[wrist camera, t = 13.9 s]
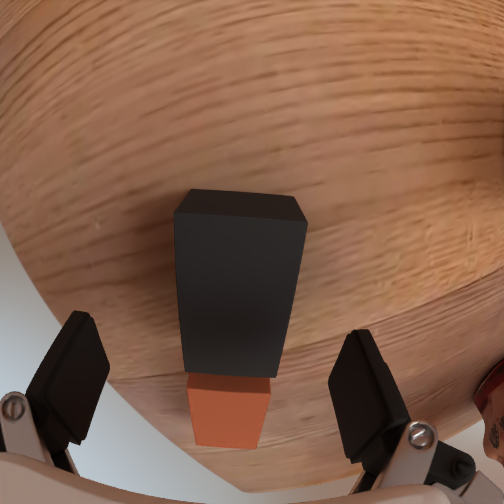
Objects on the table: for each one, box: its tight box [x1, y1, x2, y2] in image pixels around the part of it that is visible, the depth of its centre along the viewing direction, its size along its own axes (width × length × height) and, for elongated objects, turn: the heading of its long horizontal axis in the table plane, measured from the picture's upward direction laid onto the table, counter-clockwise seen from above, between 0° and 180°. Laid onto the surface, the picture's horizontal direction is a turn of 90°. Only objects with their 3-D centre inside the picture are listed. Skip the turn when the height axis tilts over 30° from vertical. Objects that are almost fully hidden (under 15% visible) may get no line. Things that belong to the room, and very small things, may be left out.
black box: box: [174, 189, 308, 378], centre depth 14 cm, size 5×9×4 cm, turn 175°
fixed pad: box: [187, 372, 271, 449], centre depth 19 cm, size 5×9×4 cm, turn 175°
